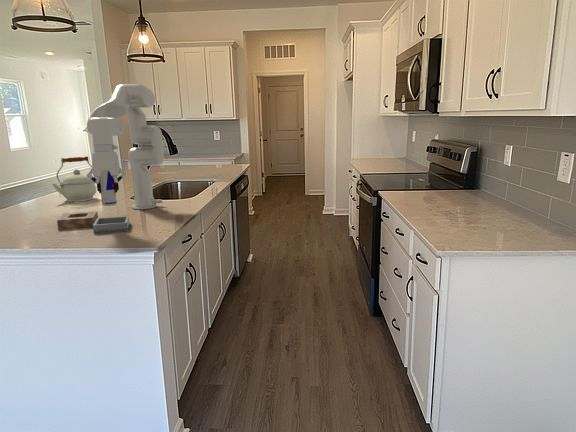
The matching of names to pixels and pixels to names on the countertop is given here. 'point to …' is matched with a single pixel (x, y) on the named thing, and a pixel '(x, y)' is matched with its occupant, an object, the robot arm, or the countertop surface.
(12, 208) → the countertop surface
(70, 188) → the kettle
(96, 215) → the socket block
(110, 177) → the beverage can
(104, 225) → the tray
